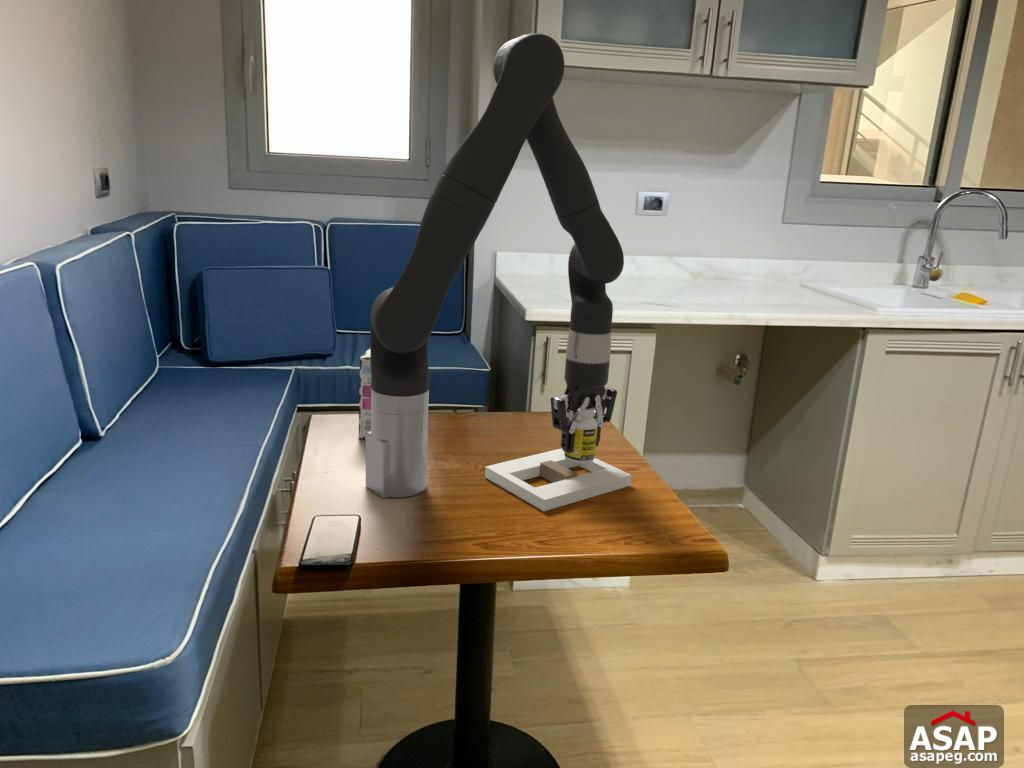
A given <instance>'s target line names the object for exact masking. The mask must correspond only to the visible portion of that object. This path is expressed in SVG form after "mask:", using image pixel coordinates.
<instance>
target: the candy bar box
mask: <svg viewBox="0 0 1024 768" xmlns="http://www.w3.org/2000/svg"><path fill="white" fill-rule="evenodd" d="M370 354H371V350H370V347H369V348H368V349H367V350H366V351H365V352H364V353H363V354H362V355H361V356H360V357H359V396H358V397H359V399H358V400H359V402H358V406H359V407H358V437H359V438H366V433H367V432H369V431H371V364H370ZM359 438H358V439H359Z"/></svg>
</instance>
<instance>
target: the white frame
mask: <svg viewBox="0 0 1024 768" xmlns="http://www.w3.org/2000/svg"><path fill="white" fill-rule="evenodd" d="M575 467H581V468H583V469H585V470H587V471H589V473H584V474H580V475H578V473H577V472H575V471H574V470H571V468H575ZM484 468H485V469H484V478H485V479H488V480H489V481H490V482H492V483H494V484H496V485H498V486H499V487H501V488H503V489H505V490H506V491H508V492H510V493H511V494H514V495H515V496H516V497H518V498H519V499H522V500H524V501H525V502H527V503H529V504H530V505H532V506H534V507H535V508H537V509H539V510H540V511H542V512H547V511H550V510H553V509H556V508H557V509H558V508H561V507H563V506H567V505H570V504H573V503H576V502H580V501H583V500H586V499H590V498H593V497H597V496H601V495H603V494H606V493H610V492H611V493H612V492H613V491H616V490H617V491H618V490H620V489H623V488H626V487H630V486H631V484H632V474H630V473H628V472H626V471H624V470H622V469H621V468H617V467H615V466H613V465H611V464H609V463H607V462H605V461H602V460H600V459H598V458H596V457H594V460H593V461H592V462H590V463H587V464H578V463H573V462H570V461H568V460H566V459H565V457H564V451H563V450H562V448H561V447H560V448H557V449H553V450H549V451H544V452H542V453H541V452H540V453H536V454H532V455H528V456H525V457H520V458H516V459H510V460H506V461H502V462H499V463H495V464H490V465H486V466H485V467H484ZM536 477H537V478H538V477H540V478H543V479H544V480H546V481H549V482H550V483H548V484H544V485H540V486H536V487H534V486H533V485H531V484H529V483H528V482H526V480H529V479H533V478H536Z"/></svg>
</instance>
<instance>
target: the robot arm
mask: <svg viewBox="0 0 1024 768" xmlns="http://www.w3.org/2000/svg"><path fill="white" fill-rule="evenodd" d="M493 60H494V61H493V64H492V65H493V66H492V67H493V69H492V70H493V78H494V81H495V83H496V86H495V89H494V92H493V93H492V95H491V97H490V99H489V100H490V101H489V102H488V104H487V106H486V109H485V111H484V112H483V114H482V116H481V118H480V119H479V120H478V121H477V123H476V125H475V126H474V127H473V128H472V130H471V131H470V132H469V134H467V136H466V137H465V138H464V140H463V141H462V142H461V144H460V145H459V146H458V147H457V149H456V150H455V152H454V153H453V154H452V156H451V158H450V159H449V161H448V162H447V163H446V165H445V167H444V169H442V173H441V174H440V176H439V179H438V180H437V182H436V184H435V187H434V189H433V191H432V192H431V195H430V196H429V199H428V202H427V205H426V207H425V209H424V212H423V215H422V217H421V221H420V225H419V229H418V232H417V236H416V239H415V242H414V246H413V249H412V252H411V255H410V257H409V260H408V261H407V263H406V265H405V267H404V269H403V271H402V272H401V275H400V276H399V277H398V279H397V281H396V283H395V284H394V286H392V287H390V288H387V289H385V290H384V291H381V293H380V294H379V295H378V296H377V297H376V298H375V300H374V302H373V304H372V306H371V311H370V326H369V327H370V336H369V337H370V345H369V348H370V350H371V354H370V364H371V431H369V432H367V433H366V439H365V487H367V488H368V489H370V490H371V491H372V492H374V493H375V494H377V495H378V496H379V497H381V499H387V498H408V497H413V496H416V495H418V494H421V493H422V492H424V491H425V490H426V489H427V488H426V487H427V475H428V474H427V467H428V466H427V465H428V463H427V461H428V459H427V458H428V431H429V430H428V429H429V427H428V425H429V397H430V396H429V395H430V394H429V393H430V370H429V362H428V361H429V359H428V341H429V339H430V337H431V335H432V333H433V330H434V328H435V326H436V323H437V319H438V317H439V315H440V312H441V309H442V306H443V304H444V302H445V300H446V297H447V295H448V292H449V289H450V287H451V285H452V282H453V281H454V279H455V277H456V275H457V273H458V271H459V270H460V268H462V267H461V266H462V265H463V263H464V261H466V259H467V257H468V255H469V253H470V251H471V250H472V248H473V246H474V244H475V243H476V241H477V239H478V237H479V236H480V233H481V232H482V230H483V228H484V226H485V225H486V223H487V221H488V219H489V217H490V215H491V214H492V211H493V210H494V208H495V206H496V203H497V202H498V199H499V197H500V194H501V193H502V190H503V189H504V186H505V185H506V183H507V181H508V178H509V176H510V175H511V172H512V170H513V168H514V166H515V164H516V161H517V160H518V157H519V155H520V152H521V150H522V148H523V146H524V144H525V142H526V141H527V143H528V146H529V147H530V150H531V152H532V154H533V156H534V159H535V161H536V163H537V167H538V169H539V172H540V175H541V177H542V179H543V182H544V184H545V187H546V190H547V193H548V195H549V198H550V201H551V204H552V206H553V210H554V211H555V214H556V216H557V220H558V221H559V224H560V225H561V227H562V229H563V230H564V231H566V232H567V233H568V234H569V235H570V237H571V238H572V240H573V242H574V244H573V246H572V247H571V249H570V252H569V256H568V261H567V263H568V264H567V270H568V271H567V272H568V275H567V276H568V282H569V283H568V284H569V292H570V297H571V308H570V309H571V310H570V316H569V317H570V318H569V320H570V322H569V329H568V330H569V331H568V336H567V342H566V351H565V352H566V354H565V366H564V367H565V368H564V377H563V379H564V381H565V383H566V388H565V390H564V393H563V395H560V396H558V397H557V396H555V395H553V396H552V397H550V407H551V408H550V409H551V422H552V427H553V428H554V429H556V430H558V431H560V432H561V437H560V438H561V440H560V449H561V448H562V450H563V451H565V452H567V453H572V452H573V449H574V437H575V433H574V431H575V428H576V426H577V423H578V422H580V421H581V419H582V416H583V413H584V411H585V409H588V408H593V407H595V416H594V417H593V418H595V419H596V420H597V422H598V429H597V438H596V447H598V446H599V443H600V440H601V433H602V432H601V431H602V428H603V426H604V424H605V423H609V422H611V420H612V416H613V411H614V407H615V403H616V400H617V395H618V391H617V390H616V389H614V388H612V387H609V386H607V384H608V383H609V373H610V363H611V351H612V336H611V335H612V325H613V324H612V323H613V311H614V306H613V302H612V300H611V299H610V297H609V296H608V294H607V289H606V285H607V284H610V283H613V282H614V281H616V280H617V279H618V278H619V277H620V276H621V274H622V272H623V269H624V265H625V258H624V257H625V256H624V252H623V249H622V246H621V243H620V241H619V238H618V236H617V235H616V233H615V231H614V229H613V228H612V226H611V224H610V221H608V219H607V217H606V216H605V214H604V212H603V211H602V209H601V204H600V202H599V199H598V195H597V193H596V191H595V187H594V184H593V182H592V181H593V180H592V179H591V177H590V174H589V170H588V169H587V167H586V165H585V163H584V161H583V159H582V157H581V156H580V154H579V152H578V150H577V149H576V147H575V145H574V144H573V142H572V140H571V139H570V137H569V135H568V134H567V131H566V130H565V127H564V125H563V123H562V121H561V118H560V116H559V113H558V111H557V107H556V105H555V101H554V96H555V94H556V92H557V91H558V89H559V88H560V86H561V83H562V82H563V78H564V74H565V57H564V53H563V50H562V48H561V46H560V45H559V43H558V42H557V41H556V40H555V39H554V38H553V37H551V36H550V35H547V34H543V33H527V34H523V35H521V36H518V37H515V38H512V39H510V40H508V41H506V42H505V43H504V44H503V45H501V46H500V48H499V49H498V51H497V52H496V55H495V56H494V59H493ZM605 410H606V411H605ZM572 411H573V412H575V413H576V414H575V415H573V414H572ZM570 419H571V423H570V425H568V424H569V421H570Z"/></svg>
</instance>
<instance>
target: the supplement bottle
mask: <svg viewBox="0 0 1024 768" xmlns="http://www.w3.org/2000/svg"><path fill="white" fill-rule="evenodd" d="M571 414H572V415H575V414H576V413H575V412H573V411H571ZM594 416H595V407H593V408H588V409H585V411H584V413H583V416H582V419H581V421H580V422H578V423H577V426H576V428H575V431H574V433H575V437H574V449H573V452H572V453H567V452H565V451H564V457H565V459H566V460H568V461H570V462H573V463H578V464H587V463H590V462H592V461H593V460H594V458H596V457H595V455H596V438H597V429H598V422H597V420H596V419H595V418H593V417H594ZM570 423H571V419H570V421H569V424H568V425H570Z"/></svg>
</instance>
